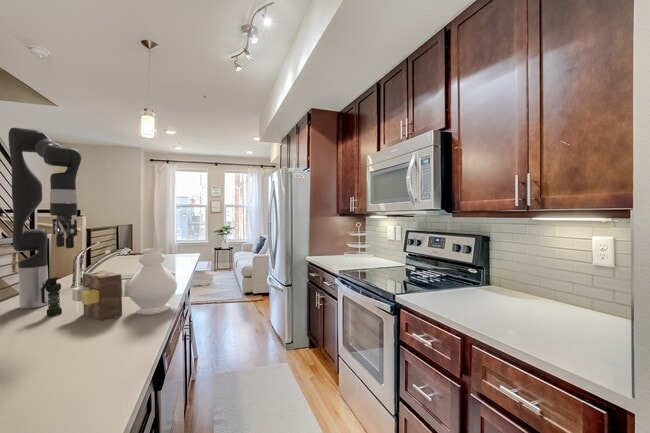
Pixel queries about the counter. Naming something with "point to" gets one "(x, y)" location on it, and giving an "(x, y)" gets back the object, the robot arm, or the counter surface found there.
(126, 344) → the counter surface
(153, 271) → the decorative vase
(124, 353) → the counter surface
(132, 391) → the counter surface
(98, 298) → the mustard button
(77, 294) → the ivory button
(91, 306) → the brown wooden block
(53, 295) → the grenade
